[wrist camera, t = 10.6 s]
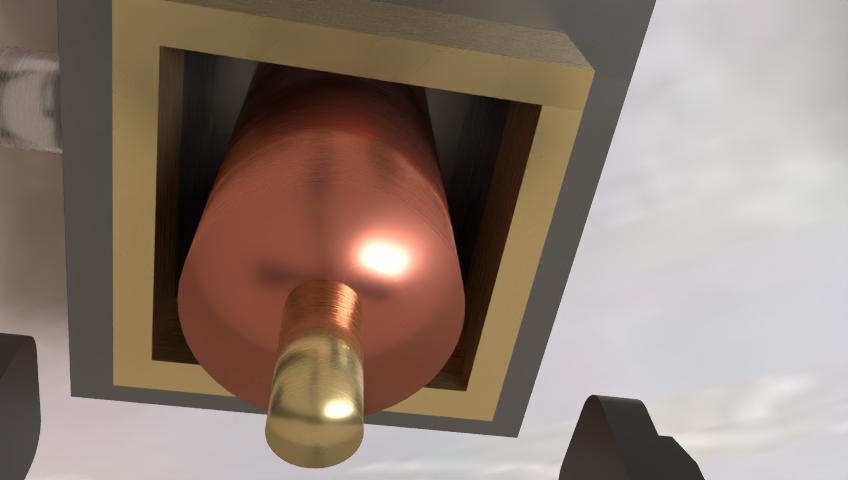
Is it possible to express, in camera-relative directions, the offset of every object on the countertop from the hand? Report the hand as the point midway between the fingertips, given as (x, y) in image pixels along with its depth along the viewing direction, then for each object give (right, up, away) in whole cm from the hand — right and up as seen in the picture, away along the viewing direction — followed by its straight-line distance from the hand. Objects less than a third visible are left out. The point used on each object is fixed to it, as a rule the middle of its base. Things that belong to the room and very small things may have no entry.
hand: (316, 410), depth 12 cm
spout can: (-1, +6, +11) cm, 13 cm away
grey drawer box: (-1, +7, +12) cm, 14 cm away
